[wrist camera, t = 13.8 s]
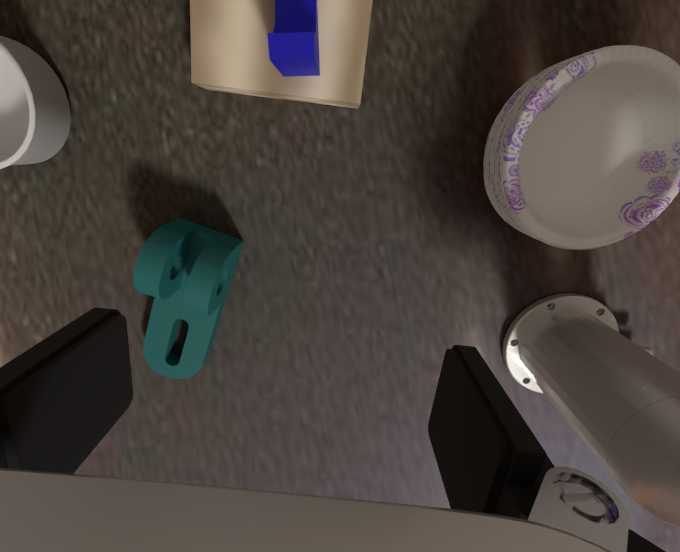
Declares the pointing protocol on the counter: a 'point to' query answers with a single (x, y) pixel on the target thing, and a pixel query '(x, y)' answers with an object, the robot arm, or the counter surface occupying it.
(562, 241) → the paper bowls
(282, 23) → the blue stepped block
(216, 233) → the bracket
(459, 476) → the robot arm
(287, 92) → the plate
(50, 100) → the saucepan
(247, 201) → the counter surface
